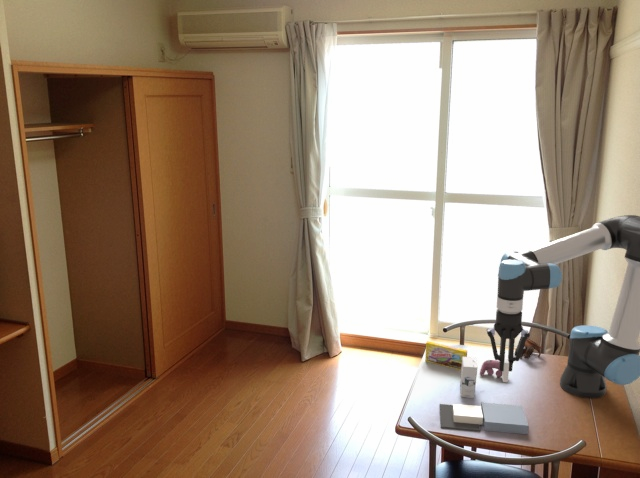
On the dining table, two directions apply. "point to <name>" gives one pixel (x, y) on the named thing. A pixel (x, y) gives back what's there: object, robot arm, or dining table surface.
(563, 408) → the dining table surface
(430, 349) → the candy box
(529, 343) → the brown animal figurine
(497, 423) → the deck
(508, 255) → the robot arm
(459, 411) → the tile
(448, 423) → the mat
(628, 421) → the dining table surface
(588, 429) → the dining table surface
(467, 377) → the ink box
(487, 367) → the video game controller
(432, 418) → the dining table surface
